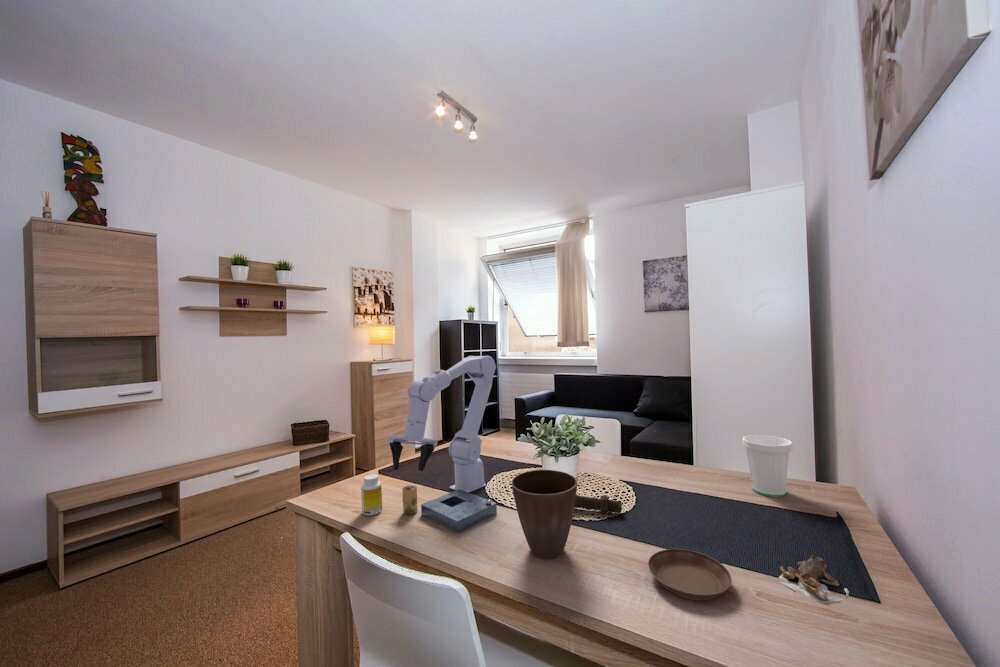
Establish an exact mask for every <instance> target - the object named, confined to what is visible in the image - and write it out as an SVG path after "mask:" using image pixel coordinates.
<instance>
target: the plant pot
mask: <svg viewBox="0 0 1000 667" xmlns="http://www.w3.org/2000/svg"><path fill="white" fill-rule="evenodd" d="M577 485H578V480H577V478H576V477H575V476H573V475H572V474H570V473H567V472H564V471H560V470H554V469H553V470H552V469H535V470H529V471H525V472H522V473H519V474H517V475H516V476H514V477H513V478H512V480H511V487H512V493H513V499H514V503H515V507H516V511H517V515H518V519H519V522H520V526H521V528H522V531H523V535H524V537H525V539H526V542H527V545H528V547H529V549H530V551H531V553H532V554H533V556H535V557H537V558H540V559H543V560H551V559H555V558H559V557H560V556H561V555H562V554H563V553H564V550H565V547H566V546H567V541H568V538H569V534H570V530H571V527H572V523H573V517H574V512H575V508H574V507H575V499H576V495H577V489H578V488H577V487H578V486H577Z"/></svg>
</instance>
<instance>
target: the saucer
mask: <svg viewBox="0 0 1000 667" xmlns="http://www.w3.org/2000/svg"><path fill="white" fill-rule="evenodd" d="M647 565H648V566H647V567H648V569H649V571H650V573H651V574H652V576H653V577H654V579H655V580H656V581H657V582H658V583H659V584H660V586H662V587H664V589H666V590H667V591H668V592H670V593H672V594H674V595H676V596H678V597H681V598H684V599H687V600H692V601H707V600H712V599H715V598H717V597H720V596H721V595H723V594H724V593H725V592H726V591H727V590H728V589H729V588H730V587H731V585H732V582H733V581H732V578H733V577H732V576H731V573H730V572H729V570H728V569H727V567H726V566H725V565H723V564H722V563H721V562H720V561H718V560H716V559H715V558H713V557H711V556H708V555H707V554H705V553H701V552H698V551H694V550H689V549H684V548H668V549H667V548H666V549H662V550H659V551H656V552H655V553H653V554H652V555H651V556H650V557H649V559H648V560H647Z"/></svg>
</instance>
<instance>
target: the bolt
mask: <svg viewBox="0 0 1000 667" xmlns="http://www.w3.org/2000/svg"><path fill="white" fill-rule="evenodd" d="M622 503H623V502H622V501H621V500H613V499H609V496H608V495H601V496H600V498H597V497H593V496H592V497H590V496H585V495H578V494H576V499H575V507H574V509H586V510H594V511H599V513H600V514H601V515H605V516H607V515H608V514H609V513H615V514H621V513H622V511H623V510H622V506H623V504H622Z"/></svg>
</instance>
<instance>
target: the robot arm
mask: <svg viewBox="0 0 1000 667" xmlns="http://www.w3.org/2000/svg"><path fill="white" fill-rule="evenodd" d="M496 368H497V365H496V362H495V360H494V358H493V357H492V356H490V355H468V356H467V357H464V358H462V359H461V360H460V361H459V362H456V363H455V364H454V365H452V366H451V367H449V368H448V369H447V370H444V369H435V370H434V371H433V374H431V375H428V376H424V377H422V380H421V381H420V380H416V381H413V382H412V383H411V385H410V386H409V388H407V396H408V398H409V400H408V403H409V404H408V413H407V416H406V423H405V428H404V433H403V435H396V434H388V435H387V436H388V437H387V440H386V441H387V442H388V444H389V448H390V451H391V456H392V470H394V471H398V470H399V466H400V459H401V455H402V451H403V449H404V446H403V445H402V444H404V445H405V444H406V445H419V446H420V456H419V462H418V468H417V470H418V471H420V472H423V471H424V470H425V467H426V464H427V462H428V460H429V459H430V457H431V455H433V454H432V453H433V452H434V451H435V448H436V447H437V446H438V438H430V437H425V432H426V427H427V421H428V415H429V408H430V403H431V401H433V400H434V399H435V397H436V394H437V393H439V392H441V391H443V390H445V389H446V388H448V387H450V385H451V383H452V381H453V380H454V379H457V378H459V377H460V376H462V375H464V374H467V375H468V376H469V377H470V379H471V380H472V381H473V383H474V384H475V386H474V389H473V392H472V395H471V400H470V402H469V405H468V409H467V412H466V415H465V417H464V422H463V424H462V427H461V429H460V430H458V431H457V432H456V433H455V434H454V437H453V439H452V440H451V441H450V443H449V446H448V453H449V456H450V457H452V461H453V465H454V484H453V485H450V486H449V489H451V490H453V491H456V490H458V489H460V490H463V491H466V492H468V493H471V492H473V491H476V490H479V489H481V488H483V487H485V486H487V484H486V483H485V472H484V471H485V468H484V462H483V461H482V459H481V458H480V456H481V454H482V453H481V452H482V447H481V446H482V442H483V441H482V438H481V437H480V436H479V430H480V427H481V423H482V421H483V420H482V419H483V418H484V413H485V409H486V407H487V404H488V400H489V396H490V394H491V390H492V386H493V379H494V376H495V372H496Z"/></svg>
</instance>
